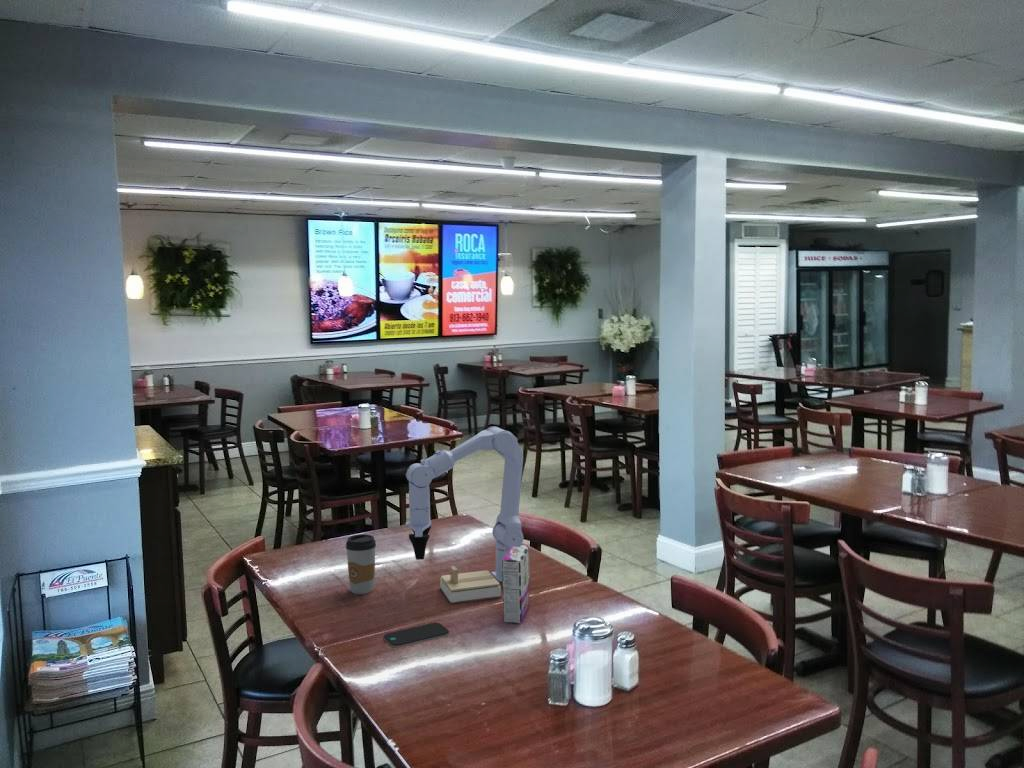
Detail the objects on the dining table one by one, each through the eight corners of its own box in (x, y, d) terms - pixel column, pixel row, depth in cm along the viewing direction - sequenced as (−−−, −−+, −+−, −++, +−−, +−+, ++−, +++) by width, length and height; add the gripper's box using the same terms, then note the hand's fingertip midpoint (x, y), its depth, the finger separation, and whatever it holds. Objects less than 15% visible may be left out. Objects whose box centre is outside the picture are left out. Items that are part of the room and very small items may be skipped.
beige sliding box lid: (487, 571, 225) (487, 557, 225) (499, 585, 214) (499, 570, 214) (441, 577, 221) (440, 562, 220) (451, 591, 210) (450, 575, 209)
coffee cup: (340, 592, 219) (339, 540, 217) (359, 583, 226) (358, 532, 224) (364, 597, 215) (363, 544, 213) (383, 588, 222) (382, 536, 221)
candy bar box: (511, 606, 208) (510, 545, 206) (529, 607, 207) (529, 546, 205) (502, 623, 197) (501, 559, 195) (521, 624, 196) (521, 560, 194)
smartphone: (381, 634, 190) (438, 621, 197) (381, 637, 190) (438, 624, 197) (393, 646, 183) (451, 631, 191) (393, 649, 183) (451, 635, 191)
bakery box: (488, 582, 226) (488, 572, 225) (500, 597, 214) (500, 586, 214) (440, 588, 221) (440, 578, 221) (450, 603, 210) (450, 592, 210)
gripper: (407, 501, 226) (408, 547, 227) (403, 514, 211) (404, 563, 213) (431, 500, 226) (432, 546, 227) (429, 513, 212) (430, 562, 213)
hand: (420, 554), depth 220 cm, fingers open, 7 cm apart
